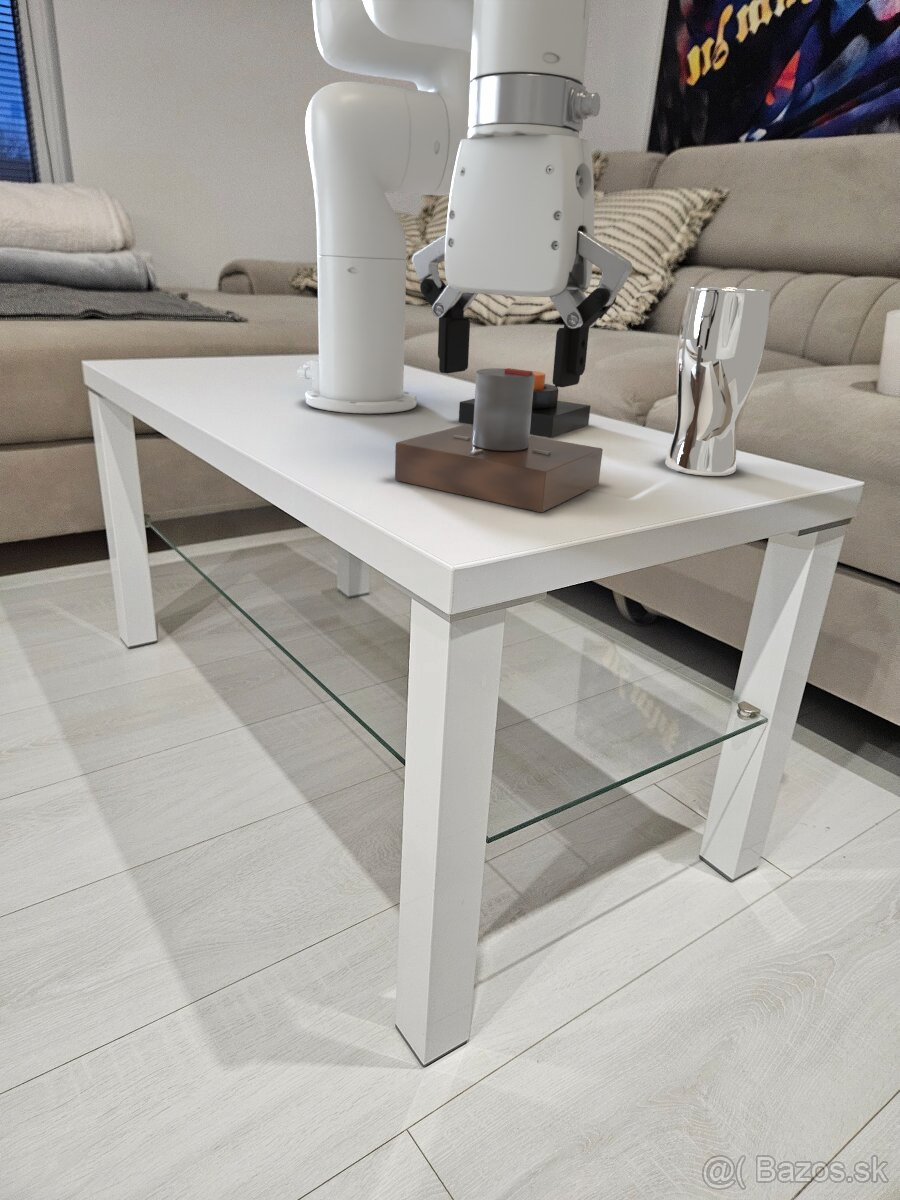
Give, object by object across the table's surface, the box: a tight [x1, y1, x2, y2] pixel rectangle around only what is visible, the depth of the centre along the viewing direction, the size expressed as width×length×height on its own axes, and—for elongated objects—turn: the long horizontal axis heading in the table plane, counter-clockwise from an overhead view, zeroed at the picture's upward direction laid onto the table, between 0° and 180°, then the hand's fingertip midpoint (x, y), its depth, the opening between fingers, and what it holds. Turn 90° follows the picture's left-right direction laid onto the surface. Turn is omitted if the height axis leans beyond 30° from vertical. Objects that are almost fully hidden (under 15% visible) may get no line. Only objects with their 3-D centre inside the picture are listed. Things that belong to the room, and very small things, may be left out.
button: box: [532, 370, 546, 390], centre depth 87 cm, size 4×4×2 cm
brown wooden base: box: [394, 424, 604, 514], centre depth 65 cm, size 13×10×3 cm
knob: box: [472, 367, 535, 451], centre depth 63 cm, size 4×4×6 cm
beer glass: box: [664, 285, 773, 477], centre depth 70 cm, size 7×7×15 cm
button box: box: [458, 383, 591, 439], centre depth 88 cm, size 11×9×4 cm
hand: (507, 378), depth 62 cm, fingers open, 9 cm apart
